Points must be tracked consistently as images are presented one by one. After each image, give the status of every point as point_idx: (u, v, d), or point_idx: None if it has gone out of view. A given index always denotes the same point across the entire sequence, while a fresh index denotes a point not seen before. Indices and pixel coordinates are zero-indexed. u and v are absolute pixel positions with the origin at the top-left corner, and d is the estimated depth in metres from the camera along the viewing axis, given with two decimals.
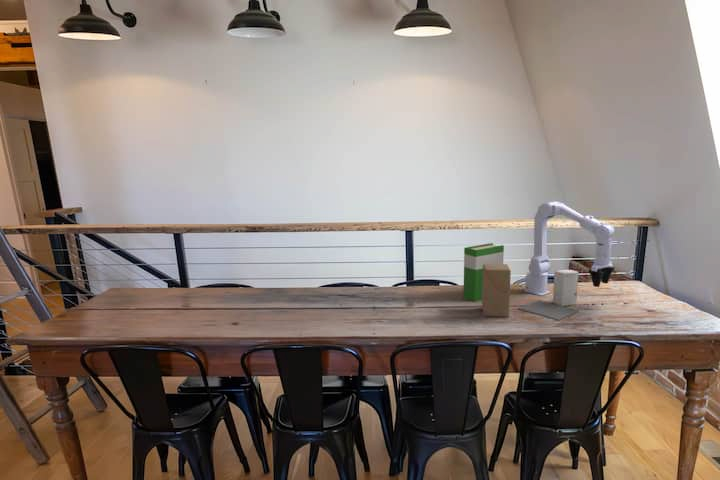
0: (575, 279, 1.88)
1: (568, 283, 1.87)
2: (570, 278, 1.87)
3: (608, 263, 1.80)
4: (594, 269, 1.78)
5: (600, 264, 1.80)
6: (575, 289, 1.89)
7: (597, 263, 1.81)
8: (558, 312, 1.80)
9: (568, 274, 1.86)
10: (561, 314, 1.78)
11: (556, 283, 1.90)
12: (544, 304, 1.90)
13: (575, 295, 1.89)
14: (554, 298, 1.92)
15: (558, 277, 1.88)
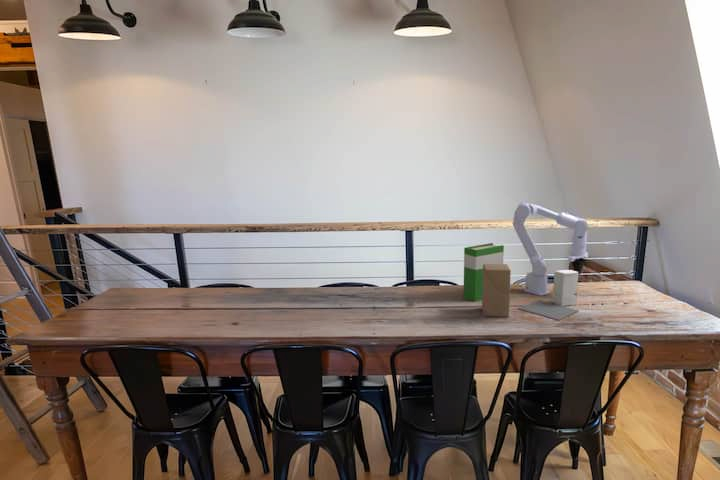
0: (575, 279, 1.88)
1: (568, 283, 1.87)
2: (570, 278, 1.87)
3: (584, 254, 1.95)
4: (571, 259, 1.94)
5: (576, 255, 1.96)
6: (575, 289, 1.89)
7: (574, 254, 1.97)
8: (558, 312, 1.80)
9: (568, 274, 1.86)
10: (561, 314, 1.78)
11: (556, 283, 1.90)
12: (544, 304, 1.90)
13: (575, 295, 1.89)
14: (554, 298, 1.92)
15: (558, 277, 1.88)
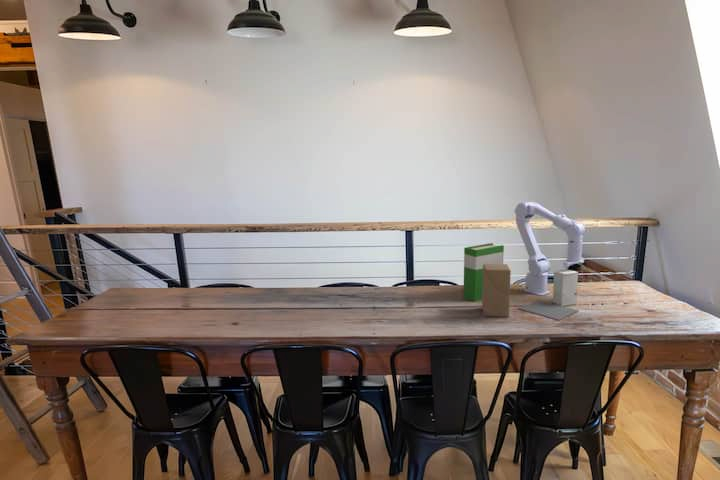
0: (575, 279, 1.87)
1: (568, 283, 1.87)
2: (570, 278, 1.87)
3: (579, 259, 1.89)
4: (566, 265, 1.87)
5: (572, 260, 1.89)
6: (575, 289, 1.88)
7: (569, 259, 1.90)
8: (558, 312, 1.80)
9: (567, 274, 1.86)
10: (561, 314, 1.78)
11: (556, 283, 1.90)
12: (544, 304, 1.90)
13: (575, 295, 1.89)
14: (554, 298, 1.92)
15: (557, 277, 1.88)
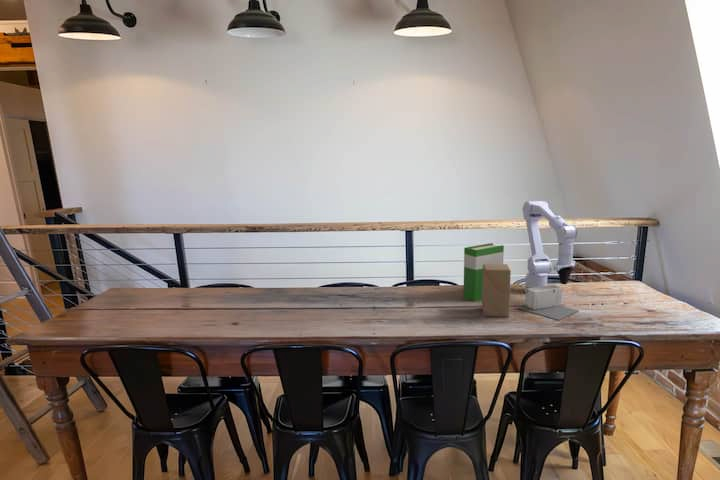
0: (541, 294, 1.83)
1: (543, 302, 1.84)
2: (539, 301, 1.83)
3: (570, 263, 1.85)
4: (556, 268, 1.83)
5: (562, 264, 1.85)
6: (549, 292, 1.84)
7: (560, 263, 1.86)
8: (558, 312, 1.80)
9: (535, 304, 1.83)
10: (561, 314, 1.78)
11: None
12: None
13: (554, 291, 1.85)
14: None
15: None
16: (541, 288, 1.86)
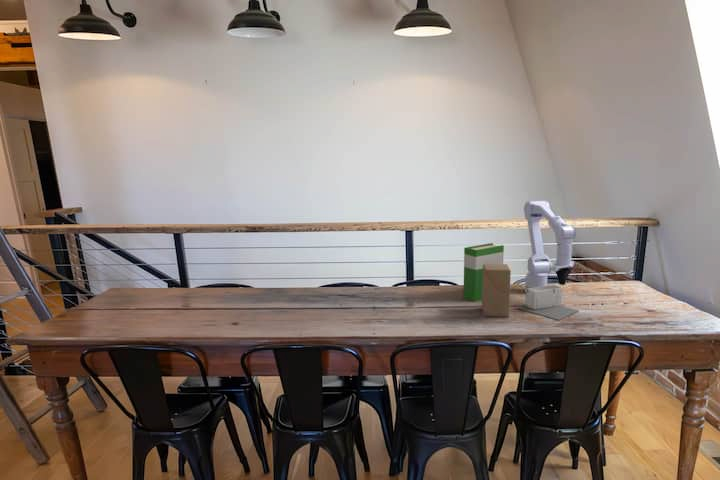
0: (541, 294, 1.83)
1: (543, 302, 1.84)
2: (539, 301, 1.83)
3: (568, 263, 1.84)
4: (554, 269, 1.82)
5: (561, 264, 1.84)
6: (549, 292, 1.85)
7: (558, 263, 1.85)
8: (558, 312, 1.80)
9: (535, 304, 1.83)
10: (561, 314, 1.78)
11: None
12: None
13: (554, 291, 1.85)
14: None
15: None
16: (541, 288, 1.86)
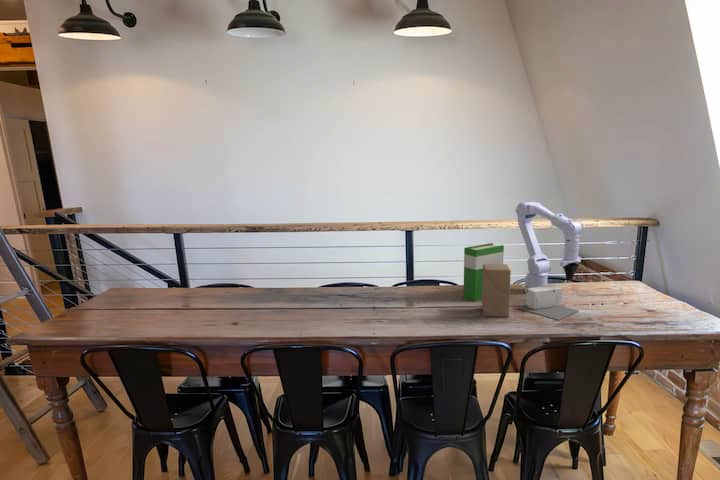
0: (541, 294, 1.83)
1: (543, 302, 1.84)
2: (539, 301, 1.83)
3: (576, 258, 1.88)
4: (562, 264, 1.86)
5: (568, 259, 1.88)
6: (549, 292, 1.85)
7: (566, 258, 1.89)
8: (558, 312, 1.80)
9: (535, 304, 1.83)
10: (561, 314, 1.78)
11: None
12: None
13: (554, 291, 1.85)
14: None
15: None
16: (541, 288, 1.86)
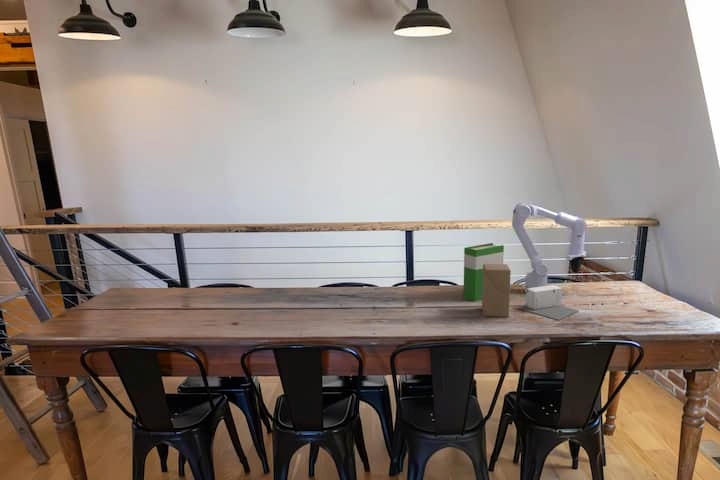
0: (541, 294, 1.83)
1: (543, 302, 1.84)
2: (539, 301, 1.83)
3: (581, 253, 1.98)
4: (568, 258, 1.96)
5: (574, 254, 1.98)
6: (549, 292, 1.85)
7: (572, 253, 1.99)
8: (558, 312, 1.80)
9: (535, 304, 1.83)
10: (561, 314, 1.78)
11: None
12: None
13: (554, 291, 1.85)
14: None
15: None
16: (541, 288, 1.86)
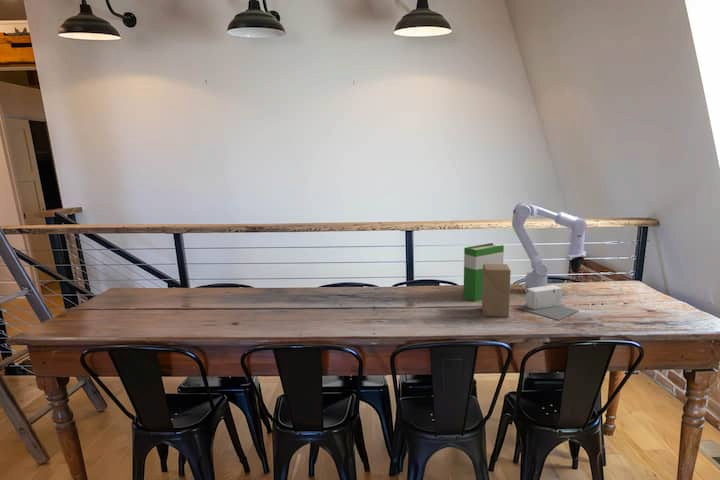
0: (541, 294, 1.83)
1: (543, 302, 1.84)
2: (539, 301, 1.83)
3: (581, 253, 1.98)
4: (568, 258, 1.96)
5: (574, 254, 1.98)
6: (549, 292, 1.85)
7: (572, 253, 1.99)
8: (558, 312, 1.80)
9: (535, 304, 1.83)
10: (561, 314, 1.78)
11: None
12: None
13: (554, 291, 1.85)
14: None
15: None
16: (541, 288, 1.86)
